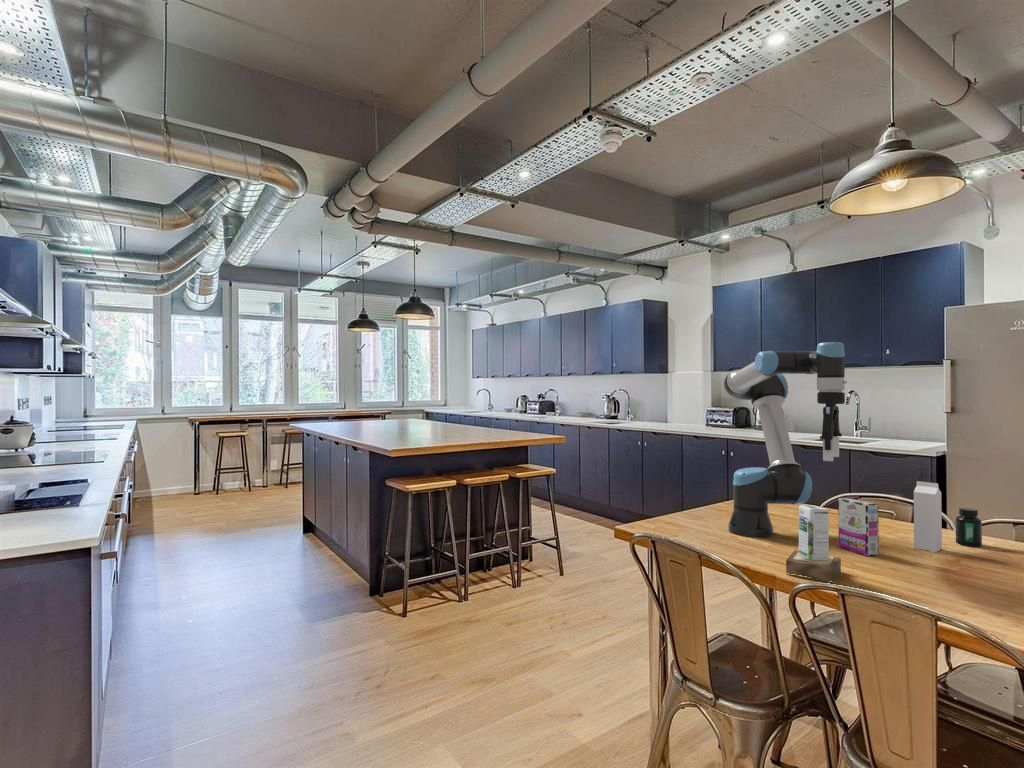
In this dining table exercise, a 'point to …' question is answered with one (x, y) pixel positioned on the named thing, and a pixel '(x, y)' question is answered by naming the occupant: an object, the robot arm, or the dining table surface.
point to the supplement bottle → (968, 528)
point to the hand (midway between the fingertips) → (831, 458)
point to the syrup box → (813, 533)
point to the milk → (927, 517)
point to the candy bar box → (858, 526)
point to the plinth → (814, 567)
